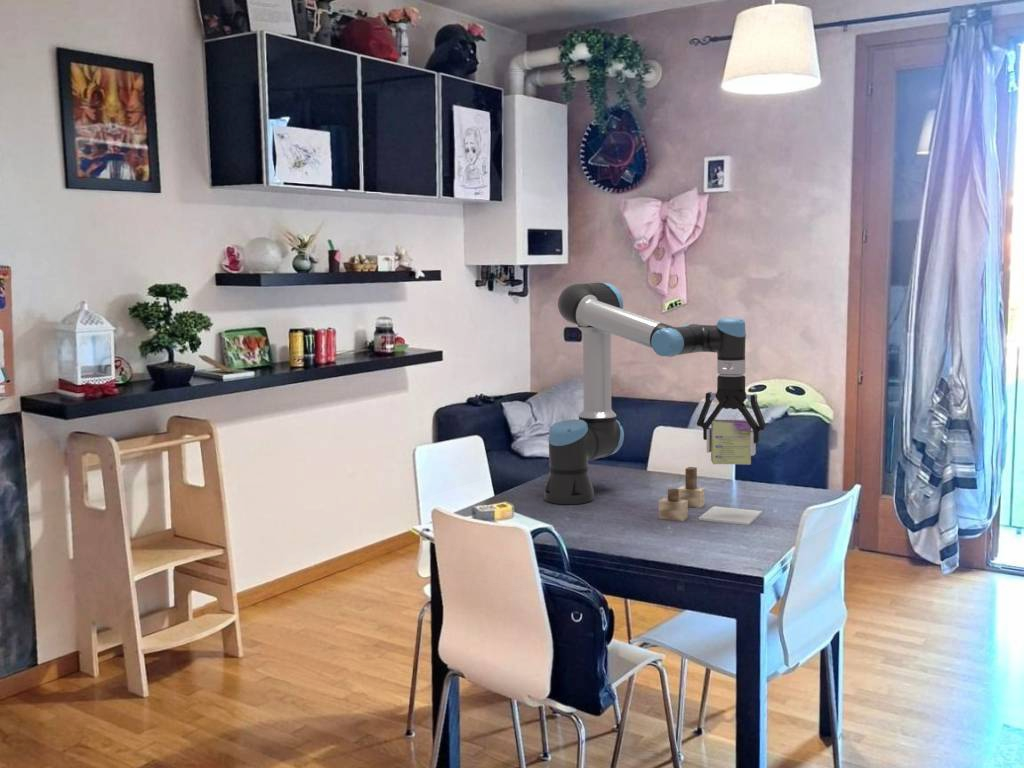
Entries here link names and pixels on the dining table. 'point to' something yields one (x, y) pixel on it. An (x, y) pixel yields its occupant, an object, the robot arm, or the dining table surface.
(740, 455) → the box
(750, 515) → the pad
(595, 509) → the dining table surface
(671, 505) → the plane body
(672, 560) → the dining table surface
